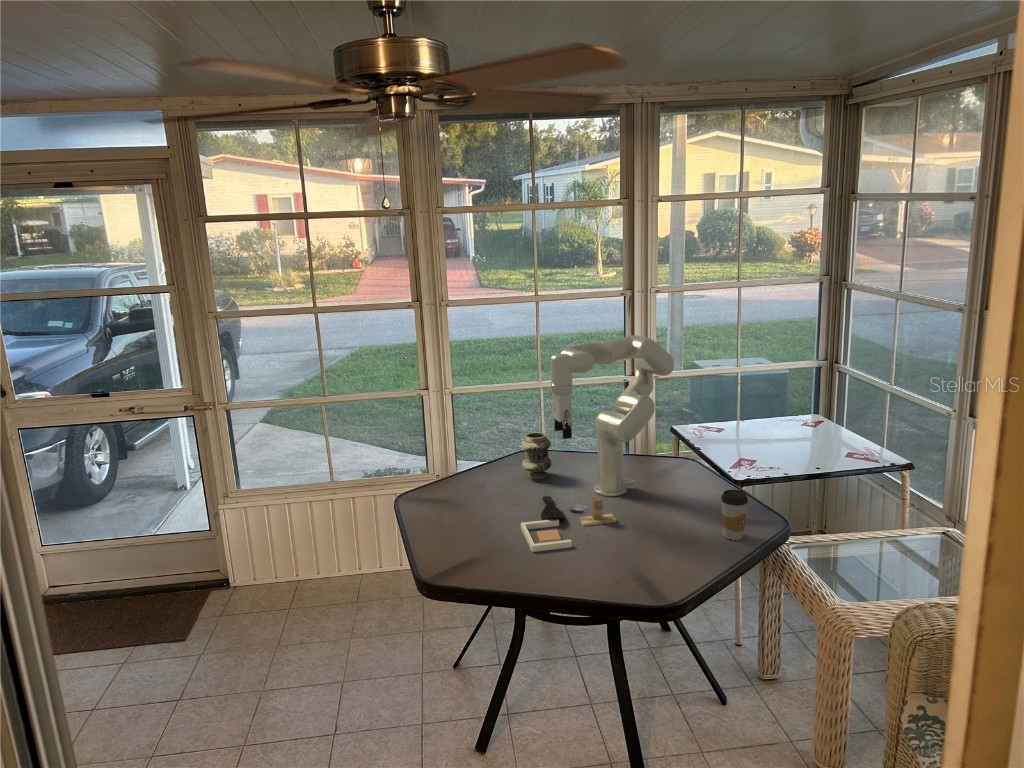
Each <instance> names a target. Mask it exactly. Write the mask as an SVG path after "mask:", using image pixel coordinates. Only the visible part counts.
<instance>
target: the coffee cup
mask: <svg viewBox="0 0 1024 768" xmlns="http://www.w3.org/2000/svg"><path fill="white" fill-rule="evenodd" d="M748 500H749V498H748V496H747V493H746V492H745V491H742V490H739V489H726V490H724V491H722V495H721V523H722V535H723V537H724V536H725V537H726V538H728V539H732V540H731V541H734V540H736V541H739V540H738V539H741V538H742V539H743V538H744V533H745V527H746V520H747V519H746V518H747V507H748V503H749V501H748ZM725 537H724V538H725ZM726 538H725V539H726ZM728 539H727V540H728ZM742 539H741V540H742Z"/></svg>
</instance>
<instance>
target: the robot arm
mask: <svg viewBox="0 0 1024 768" xmlns="http://www.w3.org/2000/svg"><path fill="white" fill-rule="evenodd" d="M631 359H634V370H635V371H634V377H633V380H632V381H631V382H630V383H629V384H628V386H626V388H625V389H624V390H623V391H622V392H621V393H620V395H618V397H617V399H616V400H615V402H614V408H615V410H616V411H617V412H616V411H613V410H603V411H600V412H599V413H598V414H597V416H596V417H595V421H594V428H595V433H596V438H597V483H596V484H595V485H594V487H593V491H594V492H595V493H596V494H598V495H600V496H605V497H618V496H623V495H624V494H625V493H627V491H628V488H627V487H628V486H634V485H635V486H636V481H635V479H630V478H624V475H623V473H624V471H623V470H624V468H623V467H624V465H623V463H624V462H623V461H624V460H623V459H624V446H623V445H624V444H623V443H627V442H628V443H629V442H631V441H632V440H634V439H635V438H636V437H637V436H638V434H640V433H641V431H642V430H643V429H644V428H645V427H646V425H647V424H648V423H649V422H650V420H651V419H652V418H653V416H654V413H655V410H656V405H655V401H654V400H653V399H652V398H651V397H650V395H651V393H652V392H653V390H654V375H655V376H660V377H666V376H669V375H670V374H672V373H673V371H674V369H675V360H674V358H673V357H672V355H671V354H670V353H669V352H667V350H666V349H664V348H663V347H662V346H661V345H660V344H659V343H657V341H655V340H653V339H652V338H649V337H645V336H639V335H626V336H623V337H619V338H616V339H613V340H608V341H600V342H593V343H592V342H591V343H582V344H578V345H574V346H570V347H565V348H564V349H563V350H562V351H561V352H560V353H555V354H553V355H551V357H550V382H551V383H550V384H551V385H550V386H551V389H550V390H551V394H552V395H551V416H552V418H553V419H554V422H553V425H554V432H560V431H562V439H563V440H567V439H573V438H572V437H573V435H572V434H573V432H572V431H573V430H572V425H573V424H572V422H573V409H572V407H573V405H572V404H573V403H572V395H571V394H573V391H574V390H573V388H574V387H573V374H586V373H588V372H590V371H591V370H592V369H593V368H594V366H595V364H598V365H613V364H617V363H620V362H624V361H627V360H631Z"/></svg>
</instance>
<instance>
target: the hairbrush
mask: <svg viewBox="0 0 1024 768" xmlns="http://www.w3.org/2000/svg"><path fill="white" fill-rule="evenodd" d="M542 501H544V502H545V504H546V505H545V506H544V507H543V510H541V513H540V519H541V521H542V520H551V519H558V520H560V519H561V520H563V519H566V515H565V511H564V509H560V508H559V507H558V506H557V507H556V504H554V503H553V502H552V501H553V500H552V496H551V495H550V496H549V495H544V496H542Z"/></svg>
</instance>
